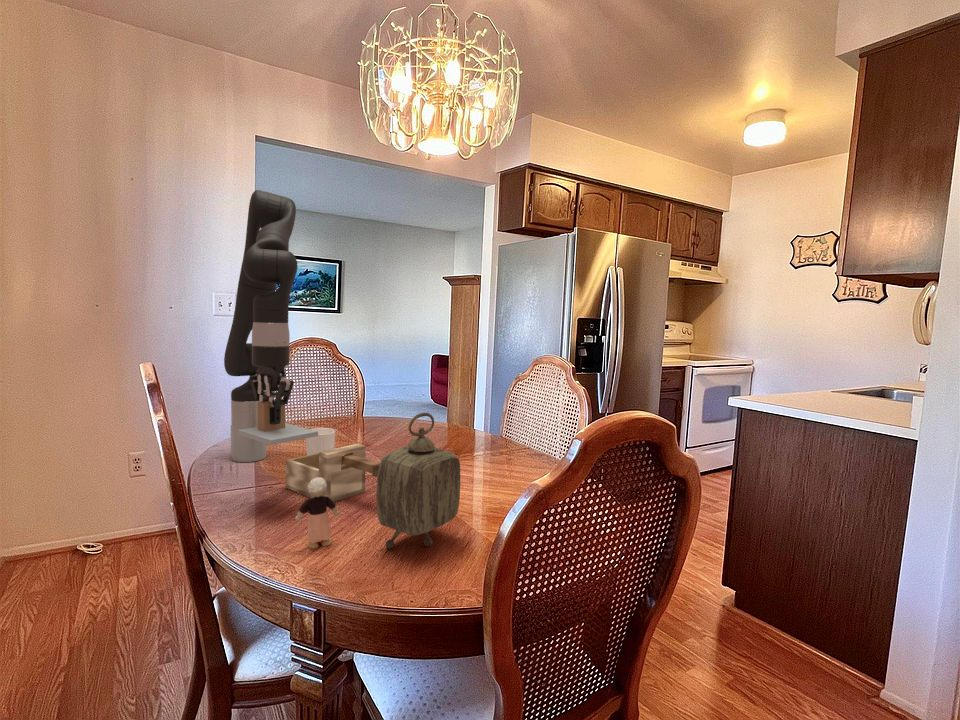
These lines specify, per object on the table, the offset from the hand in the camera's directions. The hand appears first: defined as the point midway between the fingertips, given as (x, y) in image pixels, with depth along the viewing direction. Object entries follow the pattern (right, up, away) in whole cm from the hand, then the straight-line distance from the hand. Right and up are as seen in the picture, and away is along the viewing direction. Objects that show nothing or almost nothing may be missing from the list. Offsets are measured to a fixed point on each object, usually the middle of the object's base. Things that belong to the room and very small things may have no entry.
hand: (270, 422), depth 111 cm
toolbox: (+8, -18, +12) cm, 23 cm away
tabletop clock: (+34, -21, -14) cm, 43 cm away
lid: (+2, -3, -1) cm, 3 cm away
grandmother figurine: (+15, -21, -16) cm, 31 cm away
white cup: (+1, -16, +31) cm, 35 cm away
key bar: (+19, -11, +4) cm, 22 cm away
